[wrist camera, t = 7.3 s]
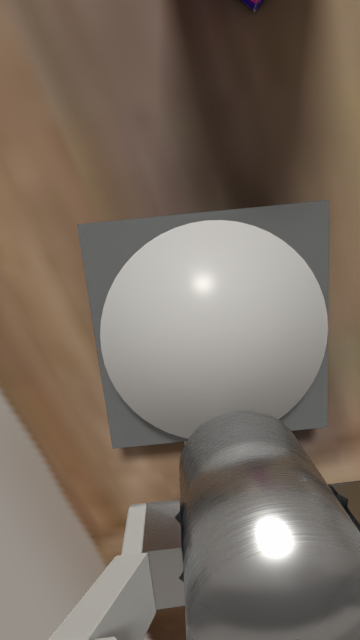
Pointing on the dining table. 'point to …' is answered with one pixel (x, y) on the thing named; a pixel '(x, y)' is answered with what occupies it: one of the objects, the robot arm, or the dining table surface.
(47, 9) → the dining table surface
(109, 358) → the scale
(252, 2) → the supplement box
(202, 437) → the cylinder
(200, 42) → the dining table surface
